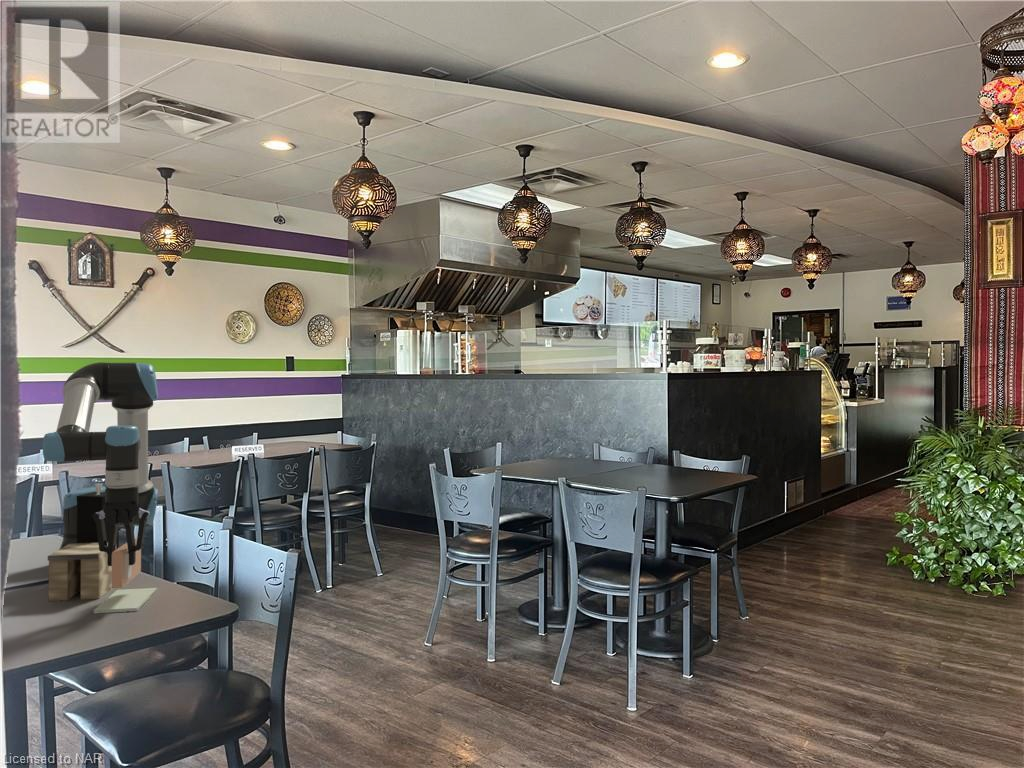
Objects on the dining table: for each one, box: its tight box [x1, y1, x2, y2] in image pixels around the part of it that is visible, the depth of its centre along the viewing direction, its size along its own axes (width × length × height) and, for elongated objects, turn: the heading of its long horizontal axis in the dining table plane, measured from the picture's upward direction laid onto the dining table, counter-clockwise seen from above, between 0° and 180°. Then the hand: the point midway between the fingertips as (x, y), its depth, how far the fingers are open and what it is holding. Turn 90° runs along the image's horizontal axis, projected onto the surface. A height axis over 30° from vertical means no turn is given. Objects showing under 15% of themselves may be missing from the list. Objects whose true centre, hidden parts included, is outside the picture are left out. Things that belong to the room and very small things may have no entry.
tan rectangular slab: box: [111, 538, 142, 589], centre depth 191 cm, size 16×2×9 cm, turn 12°
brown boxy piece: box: [47, 542, 116, 602], centre depth 198 cm, size 15×12×12 cm
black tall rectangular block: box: [77, 482, 120, 549], centre depth 212 cm, size 8×8×28 cm
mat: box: [93, 587, 158, 614], centre depth 191 cm, size 18×10×1 cm, turn 12°
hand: (121, 577), depth 186 cm, fingers closed on tan rectangular slab, 2 cm apart
